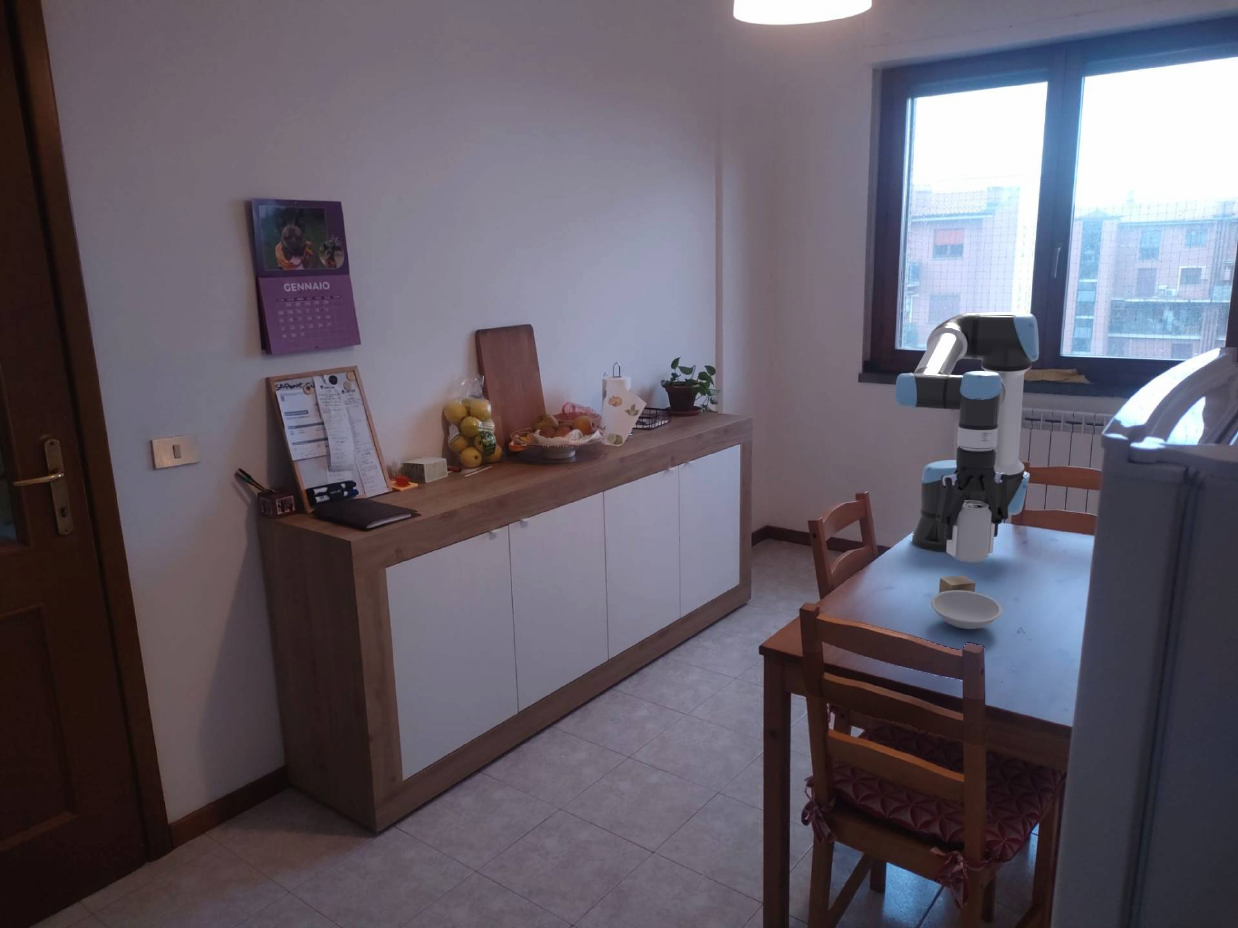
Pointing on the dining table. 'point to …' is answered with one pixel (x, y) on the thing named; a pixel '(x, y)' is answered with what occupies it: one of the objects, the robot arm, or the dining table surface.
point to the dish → (966, 608)
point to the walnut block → (956, 584)
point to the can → (973, 531)
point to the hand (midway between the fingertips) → (969, 552)
